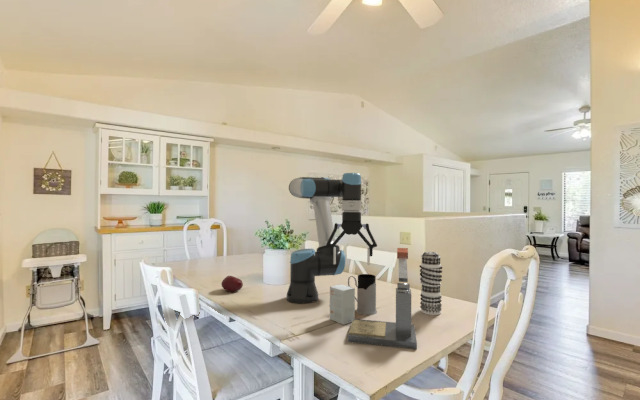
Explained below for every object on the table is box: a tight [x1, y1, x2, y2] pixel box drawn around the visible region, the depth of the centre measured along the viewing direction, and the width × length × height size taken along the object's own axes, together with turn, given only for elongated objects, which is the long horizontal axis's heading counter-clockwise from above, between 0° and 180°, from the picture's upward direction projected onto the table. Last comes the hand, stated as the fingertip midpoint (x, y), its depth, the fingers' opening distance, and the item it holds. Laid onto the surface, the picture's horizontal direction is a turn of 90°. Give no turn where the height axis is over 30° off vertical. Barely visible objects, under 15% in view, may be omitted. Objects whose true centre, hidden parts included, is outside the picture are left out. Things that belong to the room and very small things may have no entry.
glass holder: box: [347, 273, 378, 316], centre depth 139 cm, size 9×14×15 cm, turn 47°
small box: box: [329, 283, 356, 326], centre depth 127 cm, size 8×6×13 cm
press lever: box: [396, 247, 411, 290], centre depth 119 cm, size 4×22×3 cm, turn 167°
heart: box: [221, 275, 244, 293], centre depth 168 cm, size 12×8×10 cm
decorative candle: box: [418, 251, 443, 316], centre depth 137 cm, size 9×9×25 cm
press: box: [347, 287, 418, 350], centre depth 112 cm, size 22×16×16 cm
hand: (351, 264), depth 130 cm, fingers open, 13 cm apart
